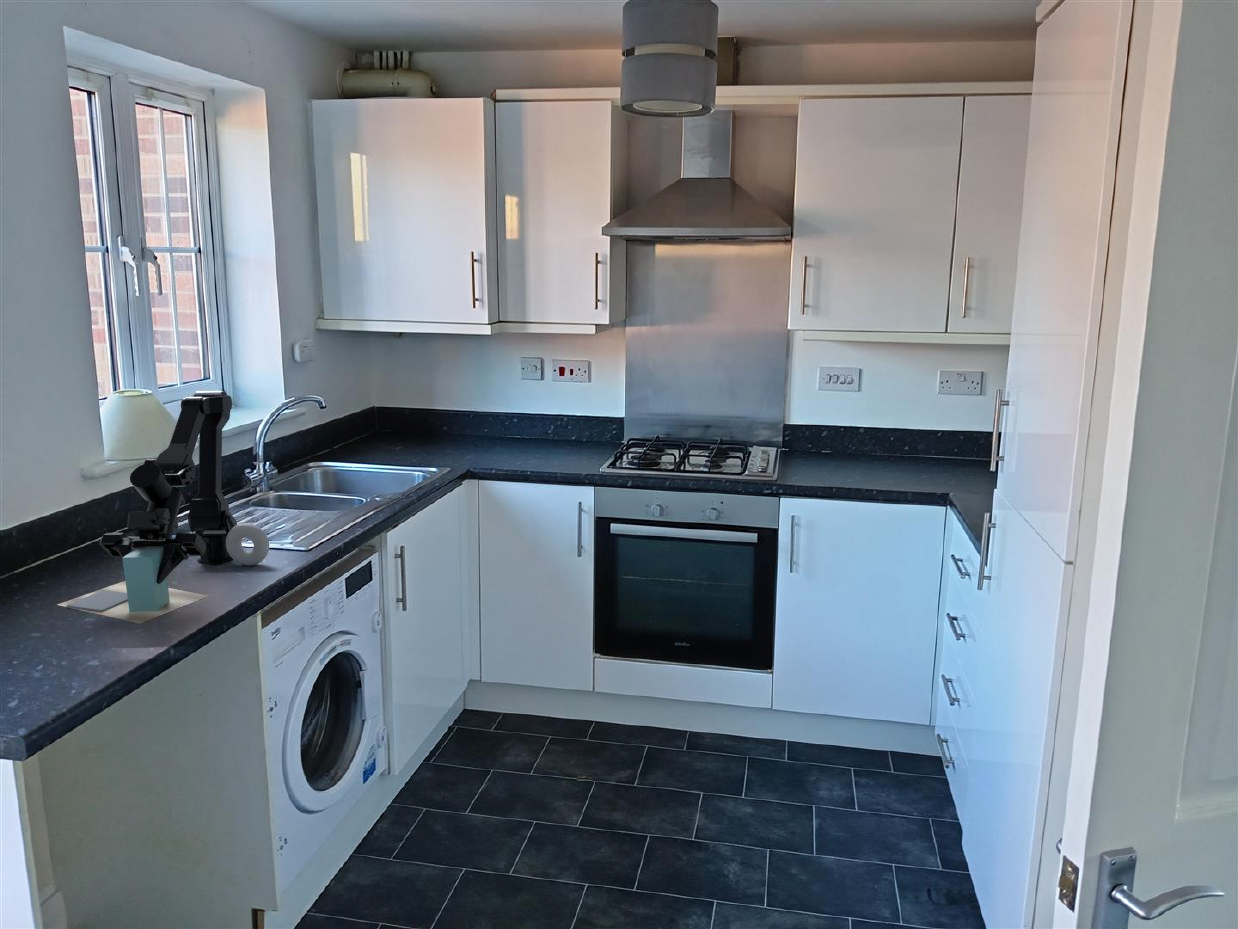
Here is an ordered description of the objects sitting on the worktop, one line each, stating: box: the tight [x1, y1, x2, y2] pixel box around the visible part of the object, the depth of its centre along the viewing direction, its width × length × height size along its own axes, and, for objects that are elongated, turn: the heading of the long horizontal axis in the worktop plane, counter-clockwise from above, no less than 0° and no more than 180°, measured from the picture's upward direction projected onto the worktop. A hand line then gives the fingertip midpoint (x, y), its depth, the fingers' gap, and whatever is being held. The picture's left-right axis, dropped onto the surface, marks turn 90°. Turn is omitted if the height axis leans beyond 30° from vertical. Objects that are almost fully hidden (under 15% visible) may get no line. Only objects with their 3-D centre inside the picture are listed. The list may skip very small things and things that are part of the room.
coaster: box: [66, 590, 128, 612], centre depth 188 cm, size 9×9×1 cm
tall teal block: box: [121, 548, 170, 612], centre depth 184 cm, size 5×5×11 cm
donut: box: [226, 522, 270, 567], centre depth 213 cm, size 10×3×10 cm, turn 84°
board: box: [56, 580, 209, 625], centre depth 189 cm, size 16×24×3 cm, turn 65°
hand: (143, 583), depth 183 cm, fingers closed on tall teal block, 5 cm apart
